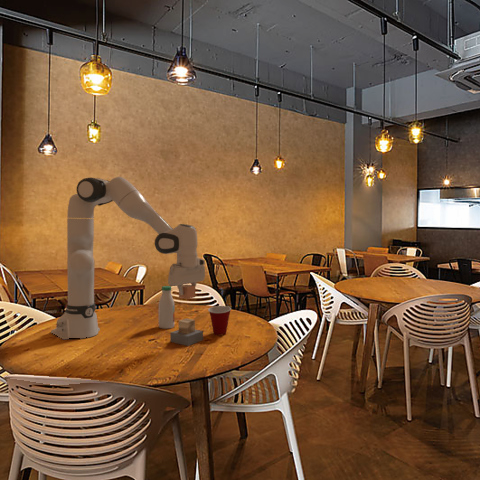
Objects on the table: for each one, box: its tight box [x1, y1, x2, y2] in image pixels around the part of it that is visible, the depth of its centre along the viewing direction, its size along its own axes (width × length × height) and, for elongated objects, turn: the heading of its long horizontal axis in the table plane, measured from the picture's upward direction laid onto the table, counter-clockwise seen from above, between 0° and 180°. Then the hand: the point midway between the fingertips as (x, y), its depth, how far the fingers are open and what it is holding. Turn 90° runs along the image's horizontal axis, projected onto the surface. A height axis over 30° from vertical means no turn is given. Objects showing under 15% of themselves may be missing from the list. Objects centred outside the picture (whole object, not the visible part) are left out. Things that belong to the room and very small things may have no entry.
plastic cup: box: [207, 305, 232, 336], centre depth 183 cm, size 11×11×12 cm
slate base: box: [169, 328, 204, 347], centre depth 172 cm, size 10×10×4 cm
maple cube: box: [178, 318, 196, 334], centre depth 171 cm, size 5×5×5 cm
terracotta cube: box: [178, 284, 196, 300], centre depth 171 cm, size 5×5×5 cm
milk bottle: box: [158, 285, 176, 330], centre depth 193 cm, size 8×8×20 cm
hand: (187, 293), depth 171 cm, fingers closed on terracotta cube, 5 cm apart
